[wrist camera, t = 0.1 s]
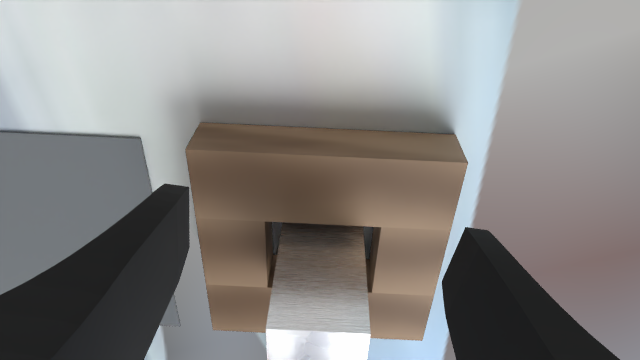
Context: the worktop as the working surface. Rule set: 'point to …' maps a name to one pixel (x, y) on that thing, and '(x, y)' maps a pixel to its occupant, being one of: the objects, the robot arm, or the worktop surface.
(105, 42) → the worktop surface
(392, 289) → the block
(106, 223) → the mat
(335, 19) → the worktop surface
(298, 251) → the steel peg
